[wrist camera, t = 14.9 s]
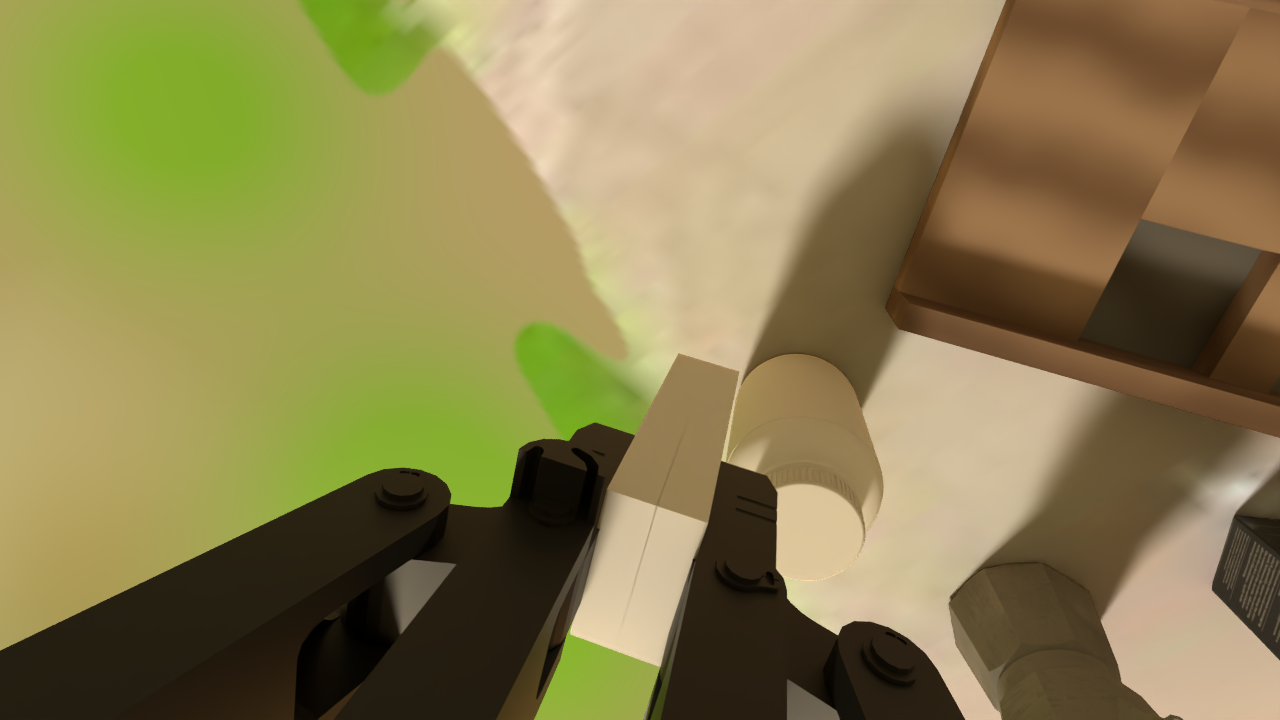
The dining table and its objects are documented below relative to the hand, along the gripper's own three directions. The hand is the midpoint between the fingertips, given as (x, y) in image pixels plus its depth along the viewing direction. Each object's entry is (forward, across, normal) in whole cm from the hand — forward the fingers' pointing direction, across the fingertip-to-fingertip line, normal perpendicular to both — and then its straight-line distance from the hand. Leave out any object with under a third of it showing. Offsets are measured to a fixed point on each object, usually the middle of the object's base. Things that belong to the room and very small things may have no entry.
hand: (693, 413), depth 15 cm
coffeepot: (+27, +25, -20) cm, 42 cm away
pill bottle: (+27, +6, -9) cm, 29 cm away
